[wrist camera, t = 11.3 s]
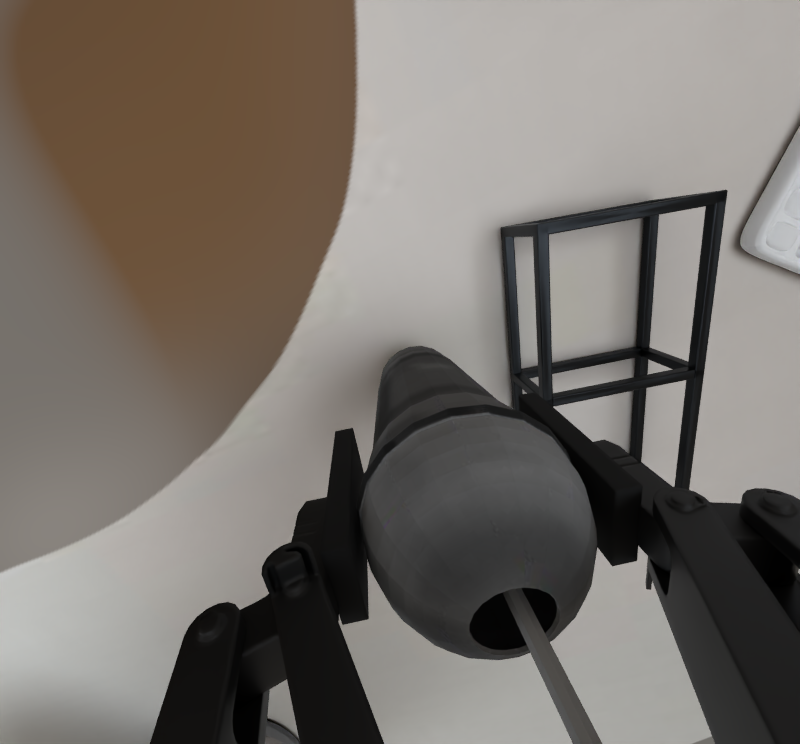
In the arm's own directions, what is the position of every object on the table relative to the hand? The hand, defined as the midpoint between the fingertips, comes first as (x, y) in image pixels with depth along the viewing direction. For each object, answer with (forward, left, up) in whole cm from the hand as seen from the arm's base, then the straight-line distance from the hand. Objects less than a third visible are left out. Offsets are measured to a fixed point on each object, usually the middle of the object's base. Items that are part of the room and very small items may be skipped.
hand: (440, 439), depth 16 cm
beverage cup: (0, 0, -7) cm, 7 cm away
